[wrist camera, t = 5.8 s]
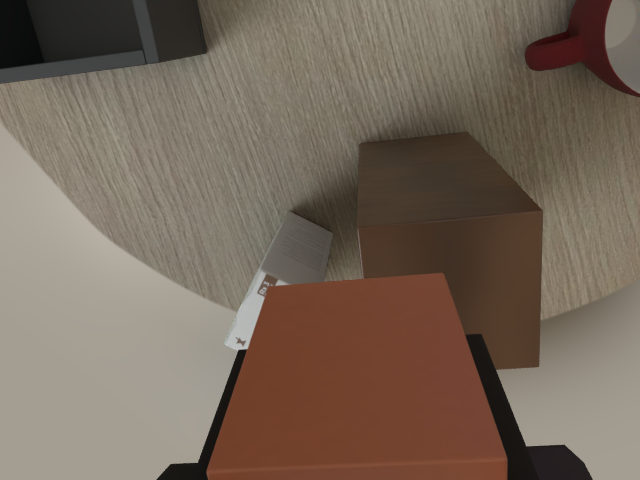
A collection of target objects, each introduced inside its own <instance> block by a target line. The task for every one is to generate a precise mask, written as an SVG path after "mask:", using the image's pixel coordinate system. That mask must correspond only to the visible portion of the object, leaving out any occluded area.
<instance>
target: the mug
mask: <svg viewBox="0 0 640 480" xmlns="http://www.w3.org/2000/svg"><path fill="white" fill-rule="evenodd" d="M525 60H526V63H527V65H528V67H529V68H530V69H532V70H535V71H542V70H550V69H556V68H560V67H565V66H568V65H572V64H575V63H578V62H582V63H583V64H584V65H585V66H586V67H587V68H588V69H590V70H591V71H592V72H593V73H594V74H595V75H596V76H598V77H599V78H600V79H601V80H602V81H604V82H605V83H606V84H608V85H609V86H611V87H613V88H615V89H617V90H619V91H621V92H624V93H626V94H629V95H633V96H636V97H640V0H576V2H575V4H574V7H573V9H572V12H571V16H570V20H569V25H568V29H567V31H566V32H563V33H560V34H557V35H553V36H550V37H546V38H543V39H540V40H538V41H535V42H534V43H532V44H530V45H529V46H528V47H527V49H526V51H525Z"/></svg>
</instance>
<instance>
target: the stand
mask: <svg viewBox="0 0 640 480" xmlns="http://www.w3.org/2000/svg"><path fill="white" fill-rule="evenodd" d="M542 231H543V210H542V209H541V208H540V207H539V206H538V205H537V204H536V203H535V202H534V201H533V200H532V199H531V198H530V197H529V196H528V195H527V194H526V192H525V191H524V190H523V189H522V188H521V187H520V186H519V185H518V184H517V183H516V182H515V181H514V180H513V179H512V178H511V177H510V176H509V175H508V174H507V173H506V171H505V170H504V169H503V168H502V167H501V166H500V165H499V164H498V163H497V162H496V161H495V160H494V159H493V158H492V157H491V156H490V155H489V154H488V153H487V152H486V150H485V149H484V148H483V147H482V146H481V145H480V144H479V143H478V142H477V141H476V140H475V139H474V138H473V137H472V136H471V135H470V134H469V133H468V132H462V133H453V134H444V135H434V136H425V137H416V138H407V139H398V140H389V141H380V142H371V143H361V144H359V171H358V202H357V236H358V246H359V255H360V264H361V273H362V279H368V278H381V277H394V276H407V275H420V274H432V273H444V275H445V278H446V281H447V284H448V287H449V290H450V293H451V296H452V299H453V301H454V304H455V307H456V310H457V313H458V316H459V319H460V322H461V325H462V328H463V331H464V334H465V335H467V334H482V336H483V339H484V341H485V344H486V346H487V349H488V351H489V354H490V356H491V359H492V361H493V364H494V367H495V369H496V370H499V369H516V368H531V367H532V368H533V367H539V354H540V314H541V272H542Z"/></svg>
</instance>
